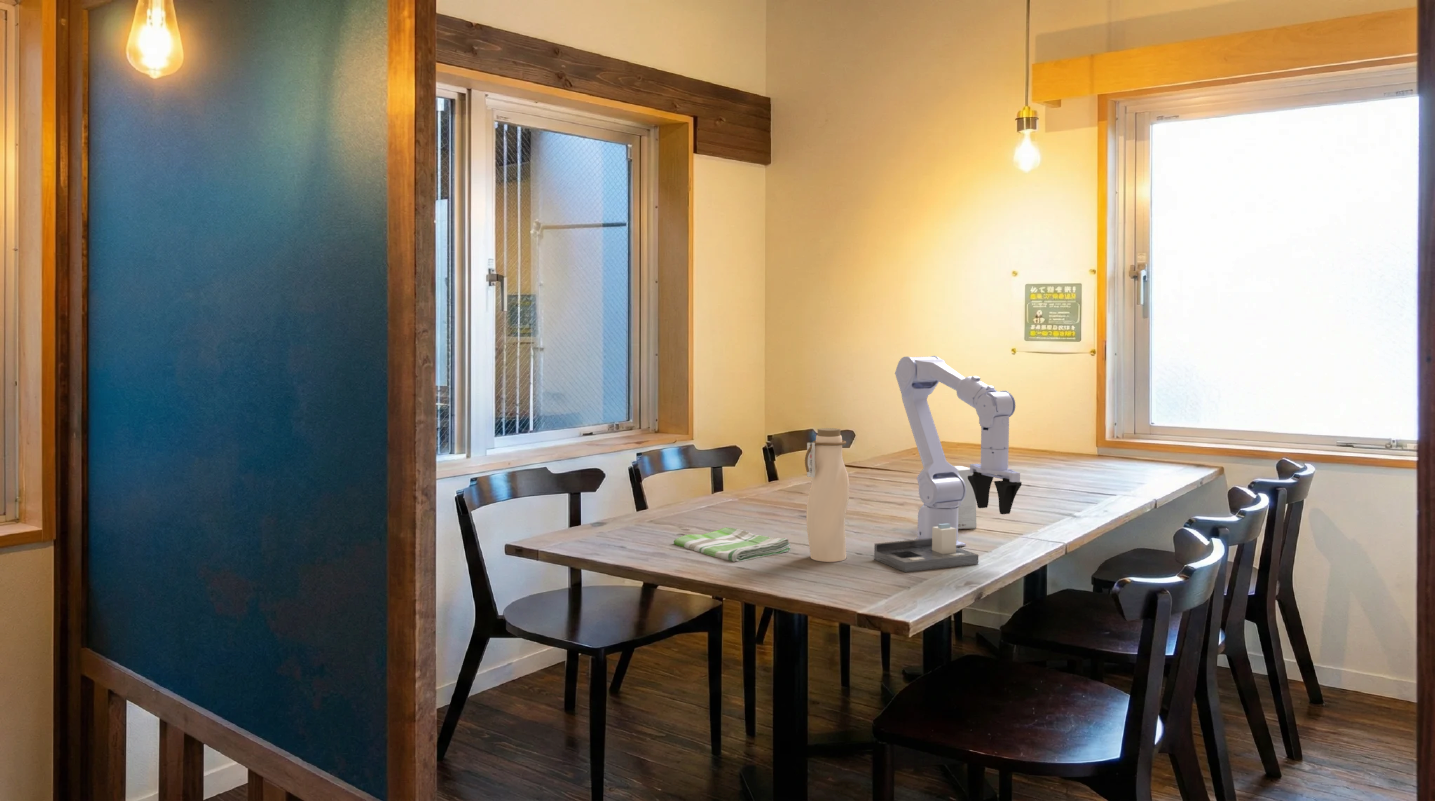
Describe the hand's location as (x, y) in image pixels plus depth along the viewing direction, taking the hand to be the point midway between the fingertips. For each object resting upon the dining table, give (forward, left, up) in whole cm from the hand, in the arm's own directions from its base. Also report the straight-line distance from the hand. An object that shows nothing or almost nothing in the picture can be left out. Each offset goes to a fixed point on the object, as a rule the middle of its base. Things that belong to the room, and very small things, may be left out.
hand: (993, 510), depth 214 cm
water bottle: (-14, -33, -11) cm, 37 cm away
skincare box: (-32, +14, -11) cm, 37 cm away
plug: (-3, -10, -10) cm, 15 cm away
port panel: (-3, -15, -10) cm, 18 cm away
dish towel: (-32, -48, -11) cm, 58 cm away
